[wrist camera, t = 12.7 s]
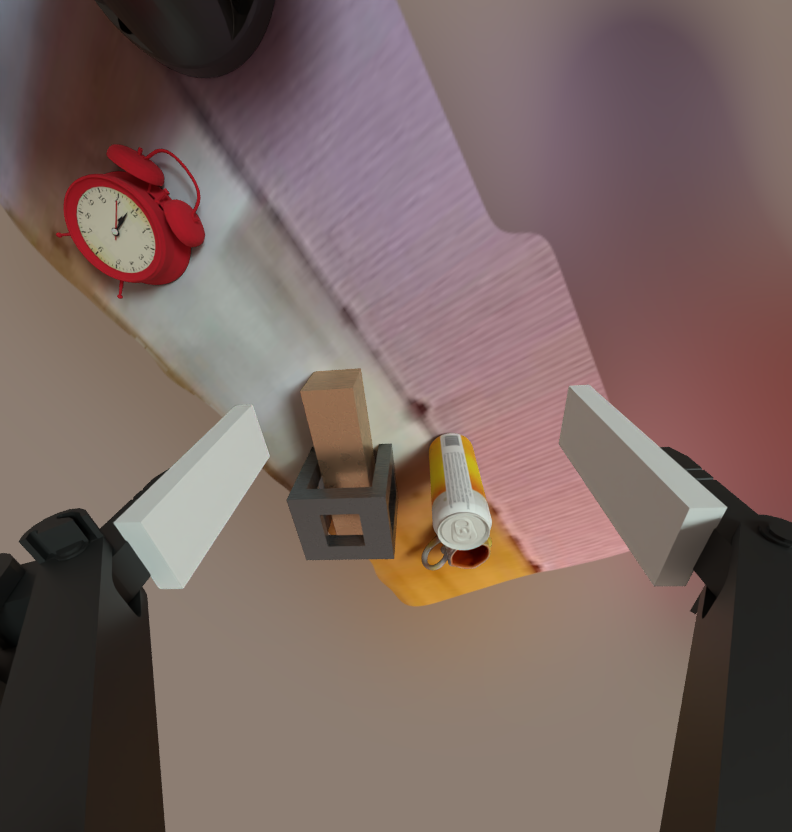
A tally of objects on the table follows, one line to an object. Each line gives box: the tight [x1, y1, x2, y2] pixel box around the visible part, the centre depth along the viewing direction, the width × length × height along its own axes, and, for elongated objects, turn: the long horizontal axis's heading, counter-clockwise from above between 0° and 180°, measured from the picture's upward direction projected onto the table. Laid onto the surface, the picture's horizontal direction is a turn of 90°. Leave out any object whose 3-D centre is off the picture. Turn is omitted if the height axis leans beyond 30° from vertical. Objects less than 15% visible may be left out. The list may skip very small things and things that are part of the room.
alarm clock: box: [56, 144, 205, 299], centre depth 33 cm, size 10×6×15 cm
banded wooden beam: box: [300, 368, 375, 535], centre depth 45 cm, size 24×6×6 cm, turn 5°
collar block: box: [287, 444, 398, 560], centre depth 45 cm, size 10×12×11 cm
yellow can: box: [429, 433, 492, 550], centre depth 40 cm, size 6×6×15 cm
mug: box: [422, 535, 492, 570], centre depth 51 cm, size 12×7×7 cm, turn 126°
